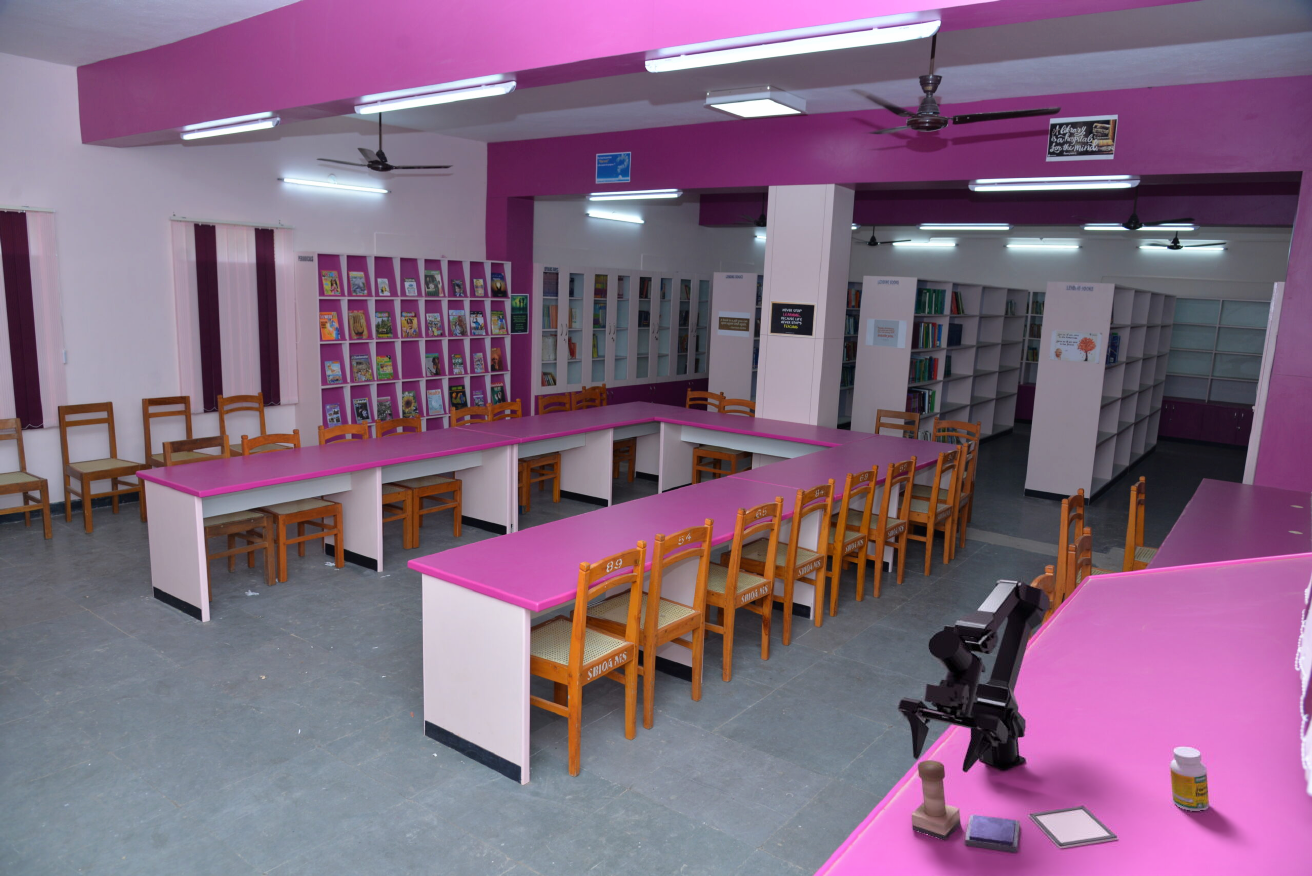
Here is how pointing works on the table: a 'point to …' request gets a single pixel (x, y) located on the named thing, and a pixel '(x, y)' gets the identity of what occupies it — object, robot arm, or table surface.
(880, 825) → the table surface
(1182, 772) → the supplement bottle
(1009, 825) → the ink pad
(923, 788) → the stamp
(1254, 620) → the table surface
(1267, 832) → the table surface
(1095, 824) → the marked square
